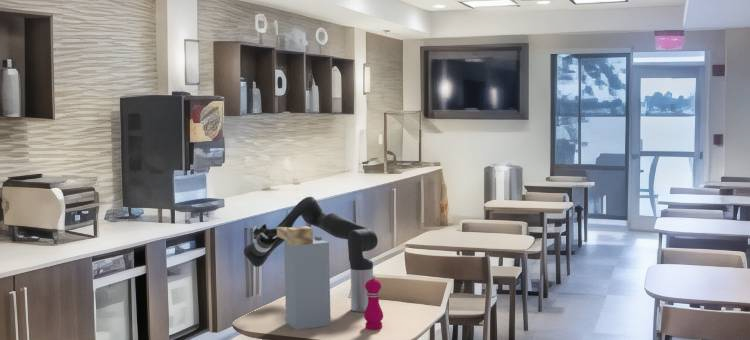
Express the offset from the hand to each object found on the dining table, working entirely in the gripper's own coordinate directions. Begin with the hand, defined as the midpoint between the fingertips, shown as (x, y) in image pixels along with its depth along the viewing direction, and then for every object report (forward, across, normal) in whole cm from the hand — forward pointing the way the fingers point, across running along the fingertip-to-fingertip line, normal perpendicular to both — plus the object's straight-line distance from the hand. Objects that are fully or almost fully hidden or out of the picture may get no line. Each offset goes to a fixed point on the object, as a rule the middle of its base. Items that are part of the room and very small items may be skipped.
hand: (275, 225), depth 331 cm
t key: (+13, 0, -12) cm, 18 cm away
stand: (+3, -4, -43) cm, 43 cm away
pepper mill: (+17, -24, -51) cm, 59 cm away
